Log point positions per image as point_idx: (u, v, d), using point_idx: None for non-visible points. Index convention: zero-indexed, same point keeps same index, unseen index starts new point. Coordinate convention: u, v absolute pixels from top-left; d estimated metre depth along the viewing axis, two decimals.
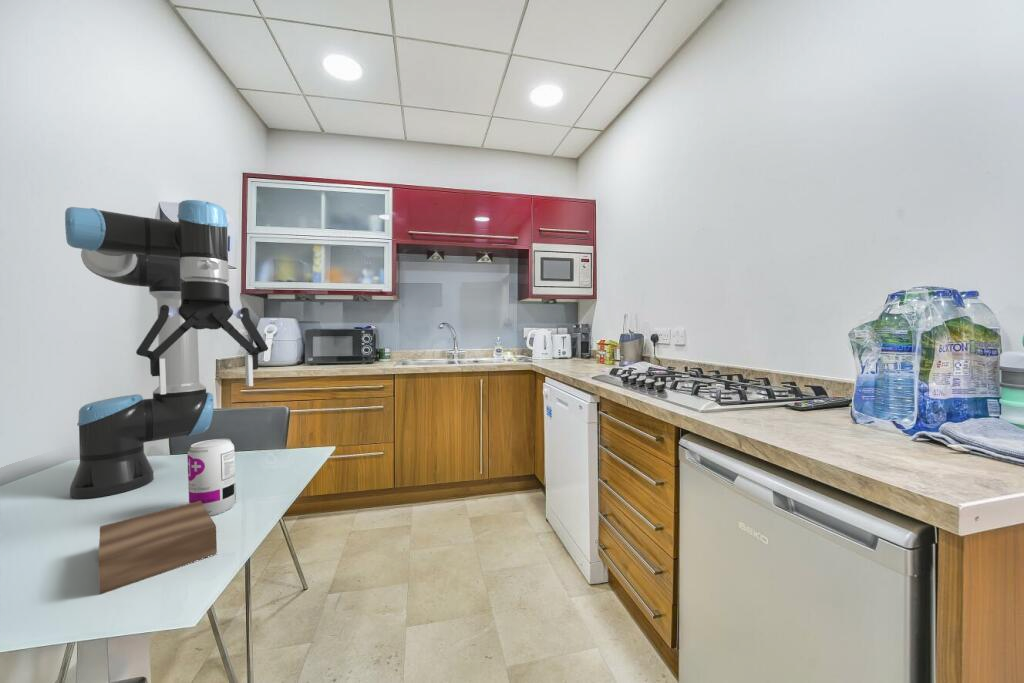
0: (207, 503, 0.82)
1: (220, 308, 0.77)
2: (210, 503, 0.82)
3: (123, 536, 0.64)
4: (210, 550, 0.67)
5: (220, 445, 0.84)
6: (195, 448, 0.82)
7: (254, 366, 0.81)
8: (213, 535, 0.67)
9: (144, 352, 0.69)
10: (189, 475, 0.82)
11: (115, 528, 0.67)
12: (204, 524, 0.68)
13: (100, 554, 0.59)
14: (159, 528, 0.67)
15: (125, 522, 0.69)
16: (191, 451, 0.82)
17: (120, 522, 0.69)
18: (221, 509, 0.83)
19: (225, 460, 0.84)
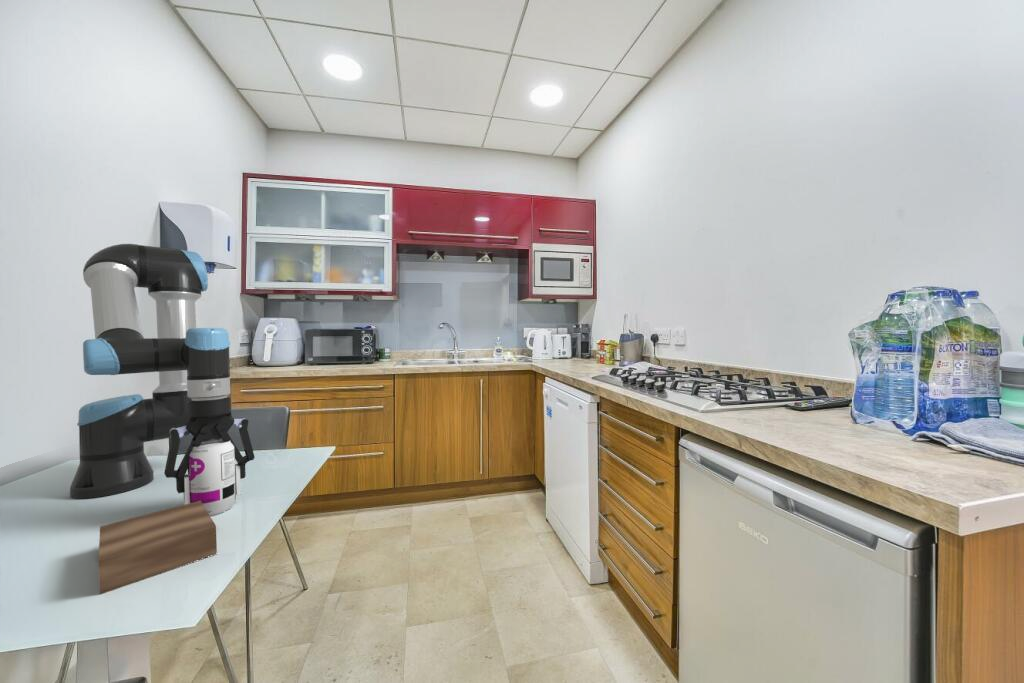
0: (207, 502, 0.82)
1: (224, 418, 0.86)
2: (210, 503, 0.82)
3: (123, 536, 0.64)
4: (210, 550, 0.67)
5: (220, 445, 0.84)
6: (195, 448, 0.82)
7: (241, 475, 0.89)
8: (213, 535, 0.67)
9: (171, 474, 0.79)
10: (189, 475, 0.82)
11: (115, 528, 0.67)
12: (204, 524, 0.68)
13: (100, 554, 0.59)
14: (159, 528, 0.67)
15: (125, 522, 0.69)
16: (191, 451, 0.82)
17: (120, 522, 0.69)
18: (221, 509, 0.83)
19: (225, 460, 0.84)
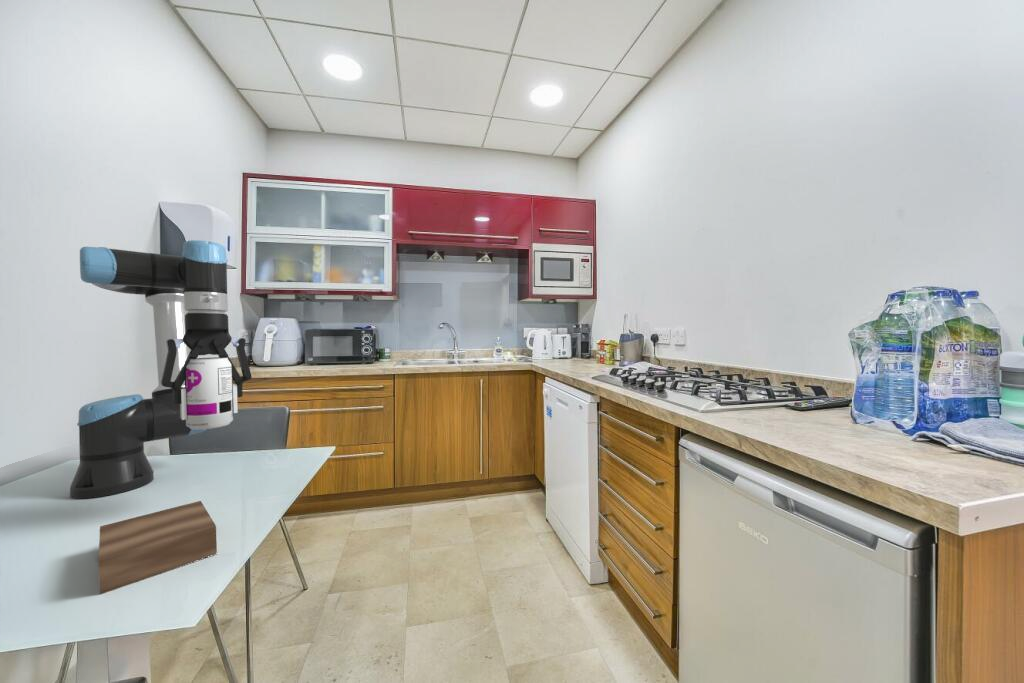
0: (204, 415, 0.82)
1: (221, 334, 0.86)
2: (207, 415, 0.82)
3: (123, 536, 0.64)
4: (210, 550, 0.67)
5: (217, 359, 0.84)
6: (192, 360, 0.82)
7: (239, 394, 0.89)
8: (213, 535, 0.67)
9: (168, 383, 0.79)
10: (186, 387, 0.82)
11: (115, 528, 0.67)
12: (204, 524, 0.68)
13: (100, 554, 0.59)
14: (159, 528, 0.67)
15: (125, 522, 0.69)
16: (188, 363, 0.82)
17: (120, 522, 0.69)
18: (218, 423, 0.83)
19: (222, 374, 0.84)
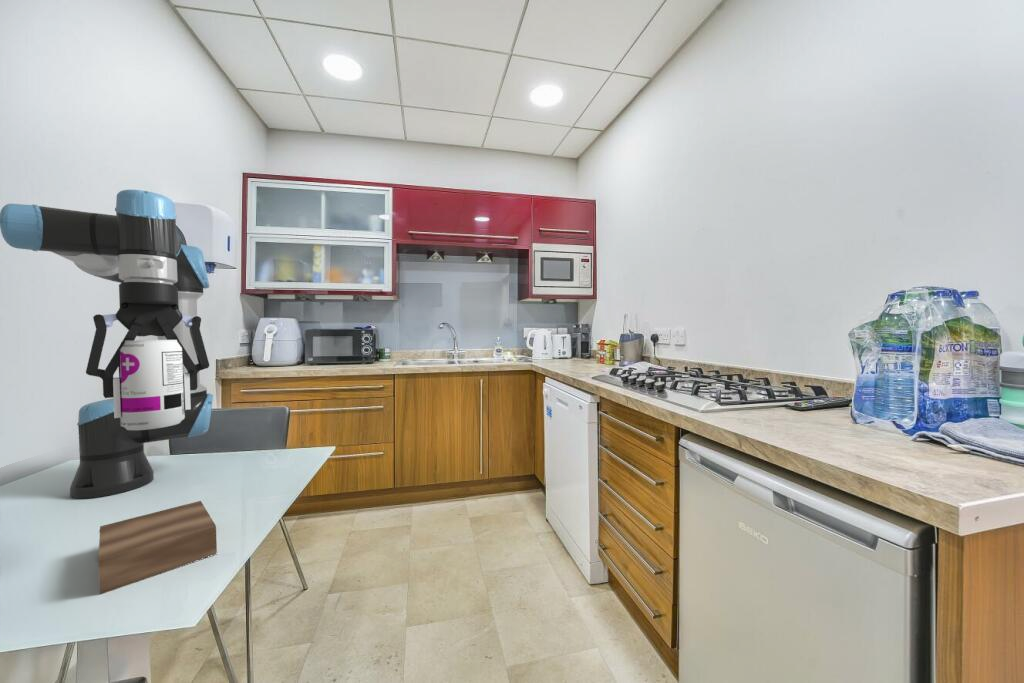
0: (142, 411, 0.64)
1: (168, 311, 0.68)
2: (147, 412, 0.64)
3: (123, 536, 0.64)
4: (210, 550, 0.67)
5: (161, 341, 0.66)
6: (128, 342, 0.64)
7: (192, 386, 0.71)
8: (213, 535, 0.67)
9: (95, 371, 0.62)
10: (120, 376, 0.64)
11: (115, 528, 0.67)
12: (204, 524, 0.68)
13: (100, 554, 0.59)
14: (159, 528, 0.67)
15: (125, 522, 0.69)
16: (122, 346, 0.64)
17: (120, 522, 0.69)
18: (162, 422, 0.65)
19: (167, 360, 0.66)
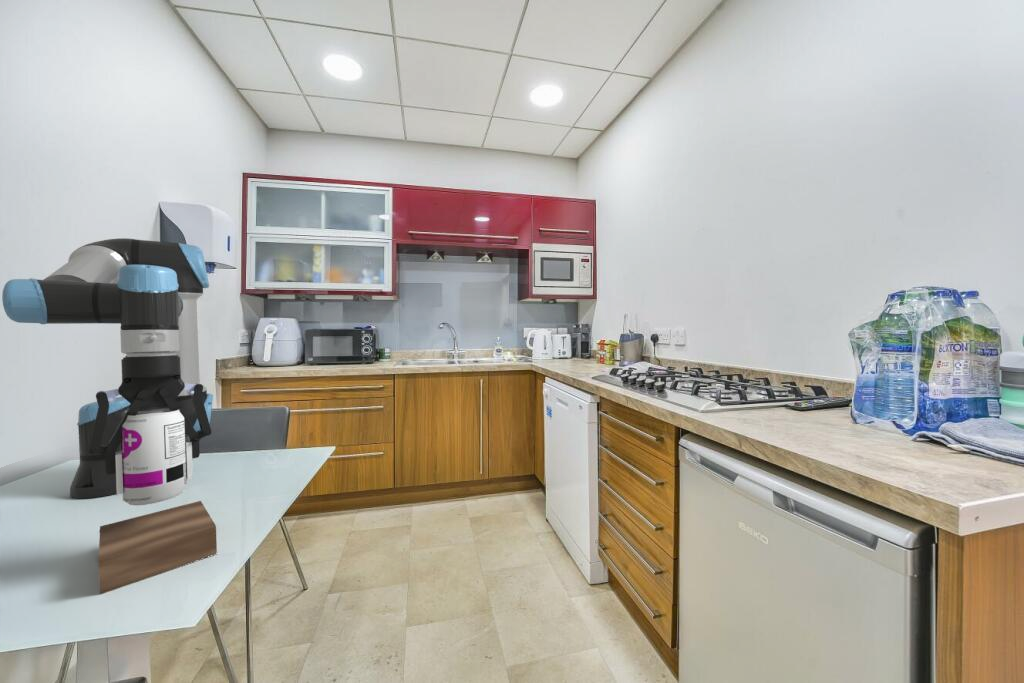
0: (145, 487, 0.64)
1: (170, 381, 0.68)
2: (149, 487, 0.64)
3: (123, 536, 0.64)
4: (210, 550, 0.67)
5: (164, 414, 0.66)
6: (130, 417, 0.64)
7: (194, 454, 0.71)
8: (213, 535, 0.67)
9: (97, 449, 0.62)
10: (122, 451, 0.64)
11: (115, 528, 0.67)
12: (204, 524, 0.68)
13: (100, 554, 0.59)
14: (159, 528, 0.67)
15: (125, 522, 0.69)
16: (125, 421, 0.64)
17: (120, 522, 0.69)
18: (164, 495, 0.65)
19: (170, 433, 0.66)
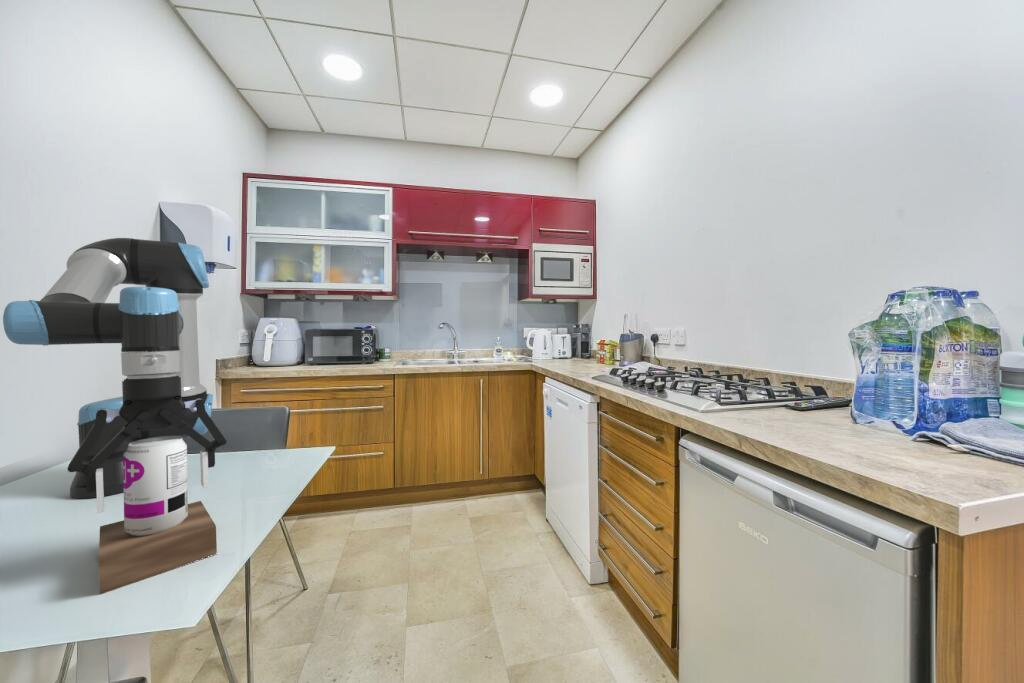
0: (146, 517, 0.64)
1: (170, 404, 0.68)
2: (151, 518, 0.64)
3: (123, 536, 0.64)
4: (210, 550, 0.67)
5: (166, 444, 0.66)
6: (133, 447, 0.64)
7: (210, 463, 0.73)
8: (213, 535, 0.67)
9: (77, 467, 0.60)
10: (124, 482, 0.64)
11: (115, 528, 0.67)
12: (204, 524, 0.68)
13: (100, 554, 0.59)
14: None
15: None
16: (128, 451, 0.64)
17: (120, 522, 0.69)
18: (165, 525, 0.66)
19: (172, 463, 0.66)
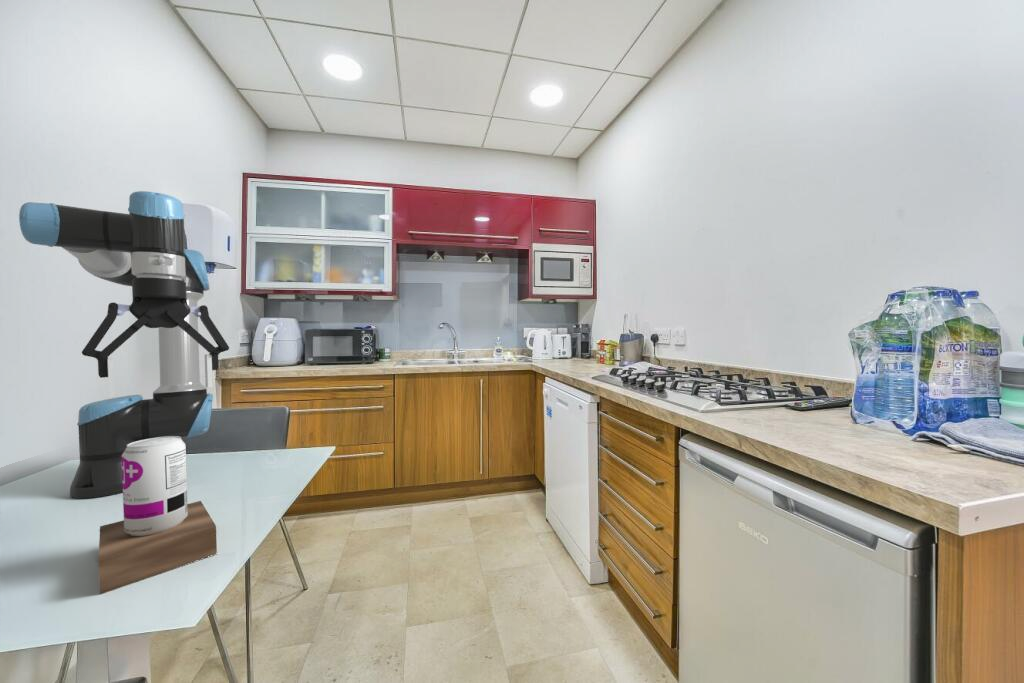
0: (146, 517, 0.64)
1: (176, 306, 0.73)
2: (150, 518, 0.64)
3: (123, 536, 0.64)
4: (210, 550, 0.67)
5: (165, 444, 0.66)
6: (131, 448, 0.64)
7: (214, 366, 0.78)
8: (213, 535, 0.67)
9: (90, 352, 0.65)
10: (123, 482, 0.64)
11: (115, 528, 0.67)
12: (204, 524, 0.68)
13: (100, 554, 0.59)
14: None
15: None
16: (126, 452, 0.64)
17: (120, 522, 0.69)
18: (165, 525, 0.65)
19: (171, 463, 0.66)
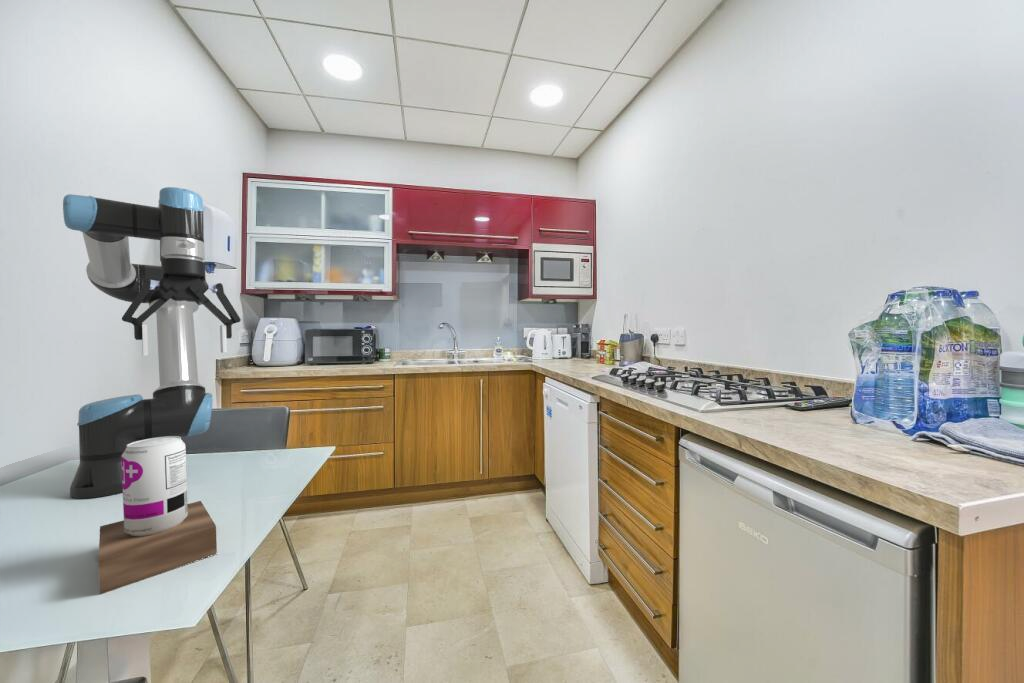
0: (146, 518, 0.64)
1: (197, 283, 0.87)
2: (150, 518, 0.64)
3: (123, 536, 0.64)
4: (210, 550, 0.67)
5: (164, 444, 0.66)
6: (131, 448, 0.64)
7: (228, 335, 0.92)
8: (213, 535, 0.67)
9: (128, 318, 0.79)
10: (123, 482, 0.64)
11: (115, 528, 0.67)
12: (204, 524, 0.68)
13: (100, 554, 0.59)
14: None
15: None
16: (126, 452, 0.64)
17: (120, 522, 0.69)
18: (165, 525, 0.65)
19: (170, 463, 0.66)
